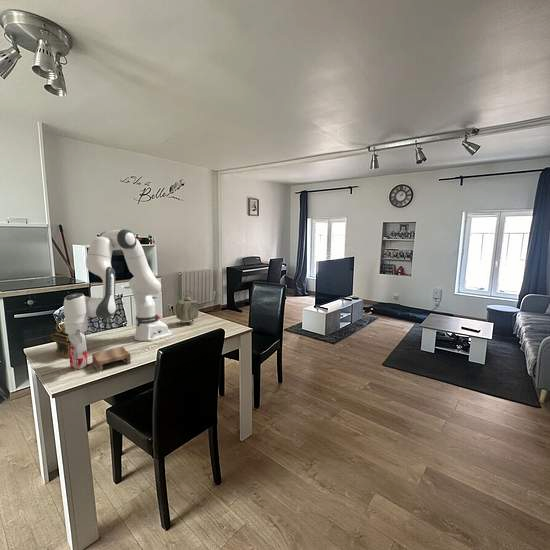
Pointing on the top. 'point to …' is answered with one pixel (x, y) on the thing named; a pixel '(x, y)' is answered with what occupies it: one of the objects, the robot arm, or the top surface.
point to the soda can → (74, 360)
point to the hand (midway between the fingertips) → (78, 355)
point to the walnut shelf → (110, 357)
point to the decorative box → (61, 341)
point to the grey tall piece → (187, 309)
